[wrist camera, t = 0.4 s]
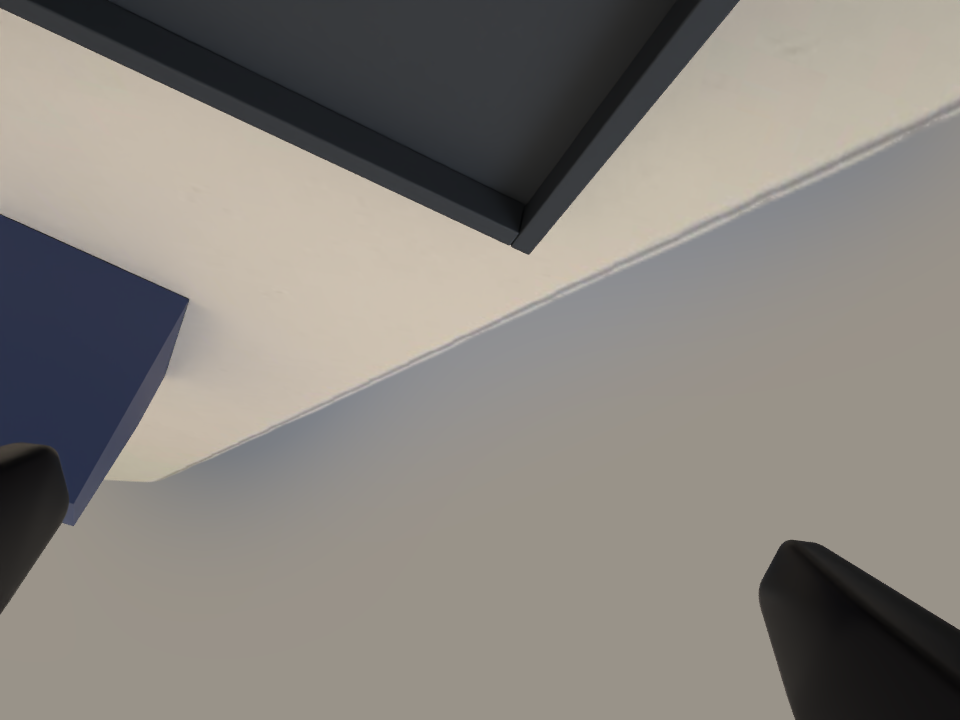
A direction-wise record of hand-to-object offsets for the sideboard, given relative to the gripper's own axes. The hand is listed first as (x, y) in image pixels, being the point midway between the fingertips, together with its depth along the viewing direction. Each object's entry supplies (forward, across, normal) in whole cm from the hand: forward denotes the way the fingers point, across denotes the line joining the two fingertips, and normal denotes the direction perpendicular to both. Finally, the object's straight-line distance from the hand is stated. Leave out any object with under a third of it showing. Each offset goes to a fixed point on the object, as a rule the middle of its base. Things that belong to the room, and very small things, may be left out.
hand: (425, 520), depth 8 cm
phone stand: (+28, -23, -13) cm, 38 cm away
